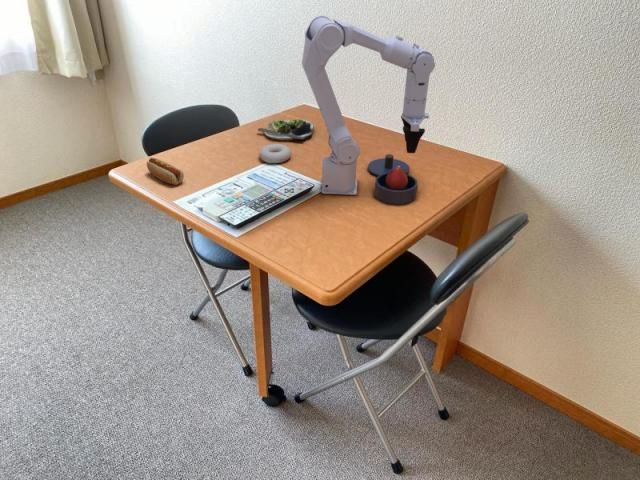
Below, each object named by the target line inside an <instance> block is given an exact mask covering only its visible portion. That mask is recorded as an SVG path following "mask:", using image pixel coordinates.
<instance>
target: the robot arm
mask: <svg viewBox="0 0 640 480" xmlns="http://www.w3.org/2000/svg"><path fill="white" fill-rule="evenodd" d="M352 44H354V45H358V46H360V47H363V48H365V49H368V50H371V51H375V52H376V53H379V55H380V58H381V60H382V61H383V62H386V63H389V64H392V65H394V66H397V67H398V68H399V67H400V68H402V69H405V70H406V77H405V85H404V86H405V87H404V96H403V106H402V113H401V115H400V118H401V121H402V125H403V126H402V132H403V134H404V141H405V147H406V148H405V149H406V153H407V154H415V153H416V151H417V149H418V146H419V143H420V141H421V139H422V137H423V136H424V134H425V133H426V128H421V127H420V125H421V124H422V122H423V121H424V120H425V119H429V118H430V114H429V113H426V105H427V97H428V91H429V81H430V76H431V74H432V72H433V71H434V70H435V67H436V62H435V58H434V56H433V54H432V53H431V52H430V51H428V50H426V49H424V48H423V47H420V45H419V44H417V43H409V42H408V41H405V40H404V37H402V36H400V35H396V36H394V35H393V36H392V35H391V36H388V37H386V38H382V37H380V36H378V35H376V34H374V33H371V32H370V31H367V30H365V29H364V28H363V29H362V28H360V27H358V26H356V25H354V24H352V23H349V22H345V21H342V20H339V19H335V18H332V20H331V19H330V18H329V17H328V16H325V15H318V16H316V17H314V18H313V19H312V20H311V21H310V23H309V25H308V27H307V28H306V30H305V32H304V45H303V53H302V58H301V65H302V69H303V71H304V74H305V77H306V78H307V81H308V84H309V86H310V89H311V91H312V93H313V95H314V98H315V101H316V104H317V106H318V109H319V111H320V114H321V117H322V119H323V121H324V124H325V126H326V131H327V135H328V139H327V142H328V146H329V148H330V149H331V153H330V156H327V157H323V158H322V163H321V164H322V165H321V179H320V180H321V182H320V183H321V194H324V195H347V196H349V195H351V196H356V195H357V193H358V180H357V164H358V163H357V161H358V158H359V157H360V154H361V153H360V152H361V149H360V146H359V144H358V143H357V142H356V141H355V140H354V138H353V137H352V135H351V132H350V131H349V129H348V127H347V125H346V122H345V119H344V116H343V114H342V111H341V108H340V106H339V103H338V99H337V97H336V96H335V92H334V90H333V87H332V84H331V82H330V79H329V75H328V73H327V71H326V66H327V64H328V63H329V61H330V58H331V57H332V56H333V55H334V54H335V53H337V51H338V50H339V49H340V48H341V47H344V48H346V47H349V46H350V45H352Z"/></svg>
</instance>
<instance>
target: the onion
mask: <svg viewBox="0 0 640 480" xmlns="http://www.w3.org/2000/svg"><path fill="white" fill-rule="evenodd" d="M407 183H408V178H407V175H406V173H405V172H404V171H403V170H401V167H400V166H398V167H397V168H395V169H393V170H391V171H390V172H389V173H388V175H387V177H386V185H387V187H388V188H389V189H390V190H399V191H402V190H403V189H405V187H406V186H407Z"/></svg>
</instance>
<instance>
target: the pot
mask: <svg viewBox="0 0 640 480" xmlns="http://www.w3.org/2000/svg"><path fill="white" fill-rule="evenodd" d="M387 175H388V173H384V174H381V175H379V176H377V177H375V180H374V196H375V198H376V199H377V200H378V201H380V202H382V203H384V204H388V205H393V206H394V205H395V206H401V205H407V204H410V203H412V202H413V201H415V200H416V198H417V195H418V194H417V193H418V185H419V183H418V179H416V178H415V176H412V175H410V174H408V173H407V174H406V175H407V178H408V183H407V186H406V187H405V189H403V190H402V191H399V190H390V189H389V188H388V187H387V185H386V177H387Z"/></svg>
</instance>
